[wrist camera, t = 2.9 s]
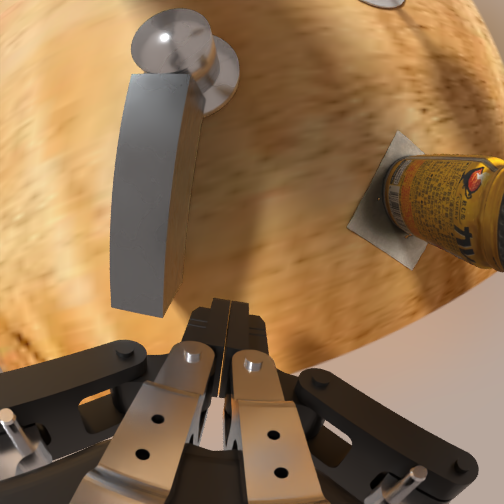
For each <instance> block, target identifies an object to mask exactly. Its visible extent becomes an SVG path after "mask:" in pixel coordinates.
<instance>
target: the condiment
mask: <svg viewBox="0 0 504 504" xmlns="http://www.w3.org/2000/svg"><path fill="white" fill-rule="evenodd" d="M378 198H380V200H378ZM347 228H348V229H350V230H351V231H353V232H355V233H356V234H358V235H359V236H361V237H363V238H364V239H366V240H367V241H369V242H370V243H372V244H373V245H375V246H376V247H378V248H379V249H381V250H382V251H384V252H385V253H387V254H388V255H390V256H391V257H393V258H394V259H396V260H397V261H399V262H400V263H402V264H403V265H405V266H406V267H407V268H409V269H410V270H413V268H414V267H415V265H416V264H417V262H418V260H419V258H420V256H421V255H422V253H423V252H424V250H425V248H426V246H427V244H428V243H429V244H432V245H434V246H437V247H439V248H440V249H443V250H445V251H447V252H449V253H451V254H453V255H455V256H456V257H458V258H460V259H463V260H464V261H466V262H468V263H470V264H472V265H475V266H476V267H478V268H482V269H492V268H493V269H495V270H496V271H500V272H504V160H502V159H500V158H497V157H493V156H483V155H459V154H456V155H455V154H452V155H451V154H440V155H438V154H433V155H426V154H425V153H424V152H422V151H421V150H420V149H419V148H418V147H417V146H416V145H415V144H414V143H413V142H412V141H410V140H409V139H408V138H407V137H406V136H405V135H403V134H402V133H401V132H399V131H398V130H397V132H396V134H395V136H394V138H393V140H392V142H391V144H390V146H389V148H388V150H387V152H386V154H385V156H384V158H383V160H382V162H381V163H380V166H379V168H378V169H377V171H376V174H375V176H374V177H373V179H372V182H371V184H370V186H369V188H368V189H367V191H366V193H365V195H364V197H363V198H362V200H361V202H360V203H359V205H358V207H357V209H356V212H355V214H354V216H353V217H352V219H351V220H350V222H349V224H348V226H347ZM409 234H410V235H412V236H409V237H408V238H405V236H406V235H409Z"/></svg>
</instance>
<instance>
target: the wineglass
mask: <svg viewBox="0 0 504 504" xmlns="http://www.w3.org/2000/svg"><path fill="white" fill-rule="evenodd" d="M360 1H363V2H365V3H367V4H370V5H373V6H377V7H381V8H395V7H397V6H400V5H401V4H402V3H403V2H404V0H360Z"/></svg>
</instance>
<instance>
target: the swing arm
mask: <svg viewBox="0 0 504 504" xmlns="http://www.w3.org/2000/svg"><path fill="white" fill-rule="evenodd" d="M131 54H132V58H133V60H134V62H135V63H136V64H137V65H138V66H139V67H140V68H141V69H142V70H143V71H144V72H145V73H146V74H132V75H131V79H130V83H129V87H128V92H127V96H126V101H125V106H124V111H123V116H122V122H121V127H120V134H119V140H118V147H117V154H116V162H115V171H114V180H113V191H112V205H111V224H110V289H111V307H113V308H117V309H121V310H126V311H130V312H135V313H140V314H145V315H150V316H155V317H160V318H163V317H164V315H165V313H166V311H167V309H168V307H169V305H170V304H171V302H172V300H173V298H174V296H175V294H176V293H177V291H178V289H179V287H180V285H181V284H182V279H183V266H184V255H185V244H186V234H187V225H188V216H189V207H190V199H191V191H192V183H193V176H194V169H195V162H196V156H197V149H198V143H199V137H200V131H201V125H202V119H203V114H204V108H205V103H206V99H205V97H204V95H203V93H204V92H206V91H207V90H209V89H210V88H211V87H212V86H213V85H214V83H215V82H216V80H217V79H218V76H219V73H220V62H219V58H218V55H217V51H216V47H215V43H214V39H213V36H212V32H211V28H210V25H209V23H208V21H207V20H206V18H205V17H204V16H203V15H201V14H200V13H198V12H196V11H193V10H190V9H183V8H178V9H170V10H166V11H163V12H161V13H158V14H156V15H154V16H153V17H151V18H150V19H148V20H147V21H146V22H145V23H144V24H143V25H142V26H141V27H140V28H139V29H138V31H137V32H136V34H135V36H134V38H133V40H132V44H131Z"/></svg>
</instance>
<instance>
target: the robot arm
mask: <svg viewBox="0 0 504 504" xmlns="http://www.w3.org/2000/svg"><path fill="white" fill-rule="evenodd" d="M229 306H230V300H224V299H217V298H213V301H212V305H211V309H209V308H203V307H199V308H197V309H196V310H194V311H193V312H192V314H191V317H190V320H189V322H188V325H187V327H186V330H185V333H184V335H183V338H182V341H181V342H180V343H177V344H176V345H174V346H173V348H172V349H171V351H170V353H169V354H164V355H147V352H146V349H145V348H144V347H143V346H142V345H141V344H139V343H137V342H135V341H131V340H117V341H113V342H110V343H107V344H104V345H101V346H97V347H94V348H91V349H87V350H84V351H81V352H77V353H74V354H71V355H67V356H64V357H60V358H57V359H53V360H49V361H46V362H42V363H39V364H35V365H31V366H27V367H24V368H20V369H16V370H12V371H8V372H4V373H0V504H449V502H450V501H451V500H452V499H454V498H455V497H456V496H457V495H458V494H459V493H461V492H462V491H463V490H464V489H465V488H466V487H467V486H469V485H470V484H471V483H472V482H473V481H474V480H475V479H476V477H477V475H478V464H477V462H476V460H475V458H474V457H473V456H472V455H471V454H469V453H468V452H466V451H464V450H462V449H460V448H458V447H456V446H454V445H452V444H450V443H448V442H446V441H445V440H443V439H441V438H439V437H437V436H435V435H433V434H432V433H430V432H428V431H426V430H424V429H423V428H421V427H419V426H417V425H415V424H414V423H412V422H410V421H408V420H407V419H405V418H403V417H402V416H400V415H398V414H397V413H395V412H393V411H391V410H390V409H388V408H386V407H385V406H383V405H381V404H380V403H378V402H377V401H375V400H373V399H372V398H370V397H368V396H367V395H365V394H364V393H362V392H360V391H359V390H357V389H355V388H354V387H352V386H351V385H349V384H348V383H346V382H345V381H343V380H342V379H340V378H338V377H337V376H335V375H334V374H332V373H331V372H329V371H326V370H323V369H317V368H311V369H306V370H304V371H302V372H301V373H300V375H299V377H297V376H294V375H290V374H287V373H284V372H282V371H280V370H278V369H277V368H276V366H275V362H274V360H273V359H272V358H271V357H270V356H269V352H268V344H267V337H266V327H265V322H264V321H263V320H262V318H261V317H260V316H256V315H249V303H244V302H237V301H232V302H231V308H230V315H229V321H228V314H229ZM227 322H228V328H227ZM226 330H227V335H226ZM225 338H226V342H225ZM224 346H225V350H224ZM223 353H224V358H223ZM222 360H223V367H222ZM221 367H222V376H221V384H220V393H219V397H220V398H225V403H224V410H223V444H224V445H223V447H224V450H223V451H211V450H208V449H205V448H202V447H199V445H200V441H201V437H202V433H203V429H204V425H205V421H206V418H207V413H208V408H209V406H210V404H211V398H212V397H217V395H218V388H219V381H220V374H221ZM108 389H110V392H111V394H108V395H106V396H103V397H101V398H98V399H95V400H93V401H90V402H87V403H85V404H82V405H79V403H80V402H81V401H82V400H83V399H84V398H86V397H89V396H92V395H95V394H97V393H100V392H103V391H105V390H108ZM78 405H79V406H78ZM325 420H326V421H328V422H329V423H331V424H332V425H333V426H335V427H336V428H338V429H339V430H341V431H342V432H343V433H345V434H346V435H348V436H349V438H350V439H351V441H352V445H350V444H349V443H347V442H346V441H344V440H343V439H342V438H340V437H339V436H337V435H336V434H335V433H333V432H332V431H330V430H329V429H327V428H326V427H325V426H324V425H323V423H324V421H325ZM112 436H113V438H112V439H109V440H105V439H108V438H110V437H112ZM103 440H105V441H103ZM101 441H102V442H101ZM96 443H97V444H96ZM91 445H92V446H91ZM89 446H90V447H89ZM87 447H88V448H87ZM84 448H85V449H84ZM82 449H83V450H82ZM79 450H81V451H79ZM77 451H79V452H77ZM74 452H77V453H74ZM71 453H74V454H72V455H69V454H71ZM66 455H69V456H67V457H65V458H62V459H60V460H57V461H55V462H52V460H55V459H58V458H61V457H63V456H66Z"/></svg>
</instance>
